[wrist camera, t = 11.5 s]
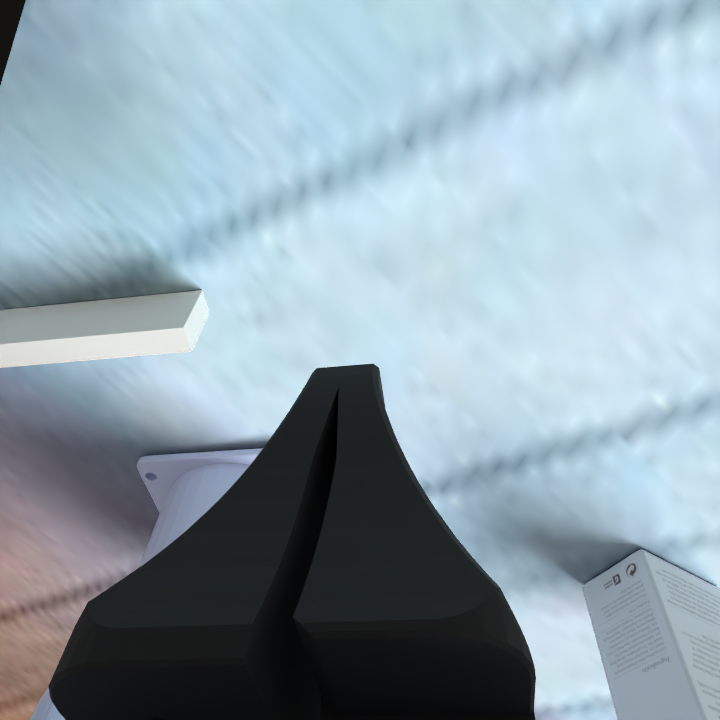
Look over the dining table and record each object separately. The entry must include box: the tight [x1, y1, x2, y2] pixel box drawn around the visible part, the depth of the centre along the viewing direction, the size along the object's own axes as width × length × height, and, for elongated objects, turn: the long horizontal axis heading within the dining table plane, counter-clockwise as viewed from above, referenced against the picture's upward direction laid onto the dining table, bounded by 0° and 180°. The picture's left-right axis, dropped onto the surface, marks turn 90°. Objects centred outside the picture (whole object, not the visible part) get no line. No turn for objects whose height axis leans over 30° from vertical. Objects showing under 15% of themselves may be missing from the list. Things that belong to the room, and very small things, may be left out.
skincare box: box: [583, 549, 720, 720], centre depth 28 cm, size 6×4×12 cm
